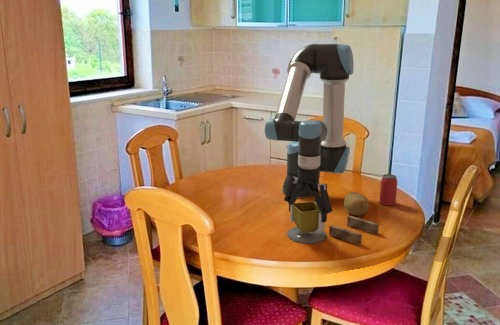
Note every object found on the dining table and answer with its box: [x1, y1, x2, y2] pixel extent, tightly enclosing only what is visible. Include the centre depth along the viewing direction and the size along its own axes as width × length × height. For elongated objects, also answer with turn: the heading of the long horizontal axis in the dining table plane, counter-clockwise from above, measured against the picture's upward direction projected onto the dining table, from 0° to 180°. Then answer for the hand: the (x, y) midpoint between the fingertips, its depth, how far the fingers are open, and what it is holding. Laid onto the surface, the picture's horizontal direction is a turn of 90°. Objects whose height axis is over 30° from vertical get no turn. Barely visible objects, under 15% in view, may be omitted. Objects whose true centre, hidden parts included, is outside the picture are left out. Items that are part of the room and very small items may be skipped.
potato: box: [343, 191, 370, 216], centre depth 195 cm, size 10×14×8 cm
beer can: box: [379, 173, 398, 207], centre depth 205 cm, size 7×7×12 cm
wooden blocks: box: [328, 215, 380, 246], centre depth 176 cm, size 12×14×4 cm
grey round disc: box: [286, 226, 327, 245], centre depth 176 cm, size 14×14×1 cm
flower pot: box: [292, 200, 321, 233], centre depth 174 cm, size 9×9×9 cm
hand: (307, 225), depth 175 cm, fingers closed on flower pot, 12 cm apart
